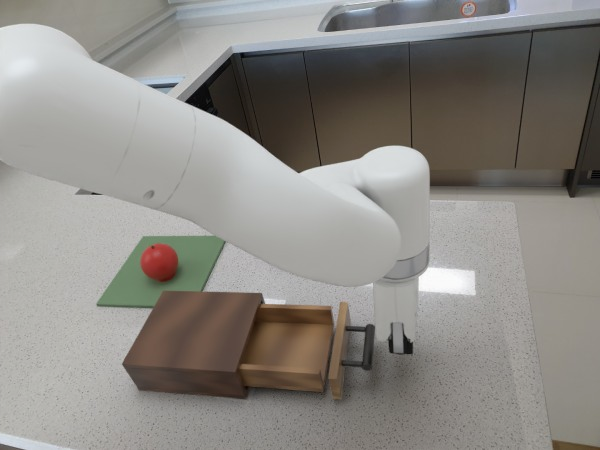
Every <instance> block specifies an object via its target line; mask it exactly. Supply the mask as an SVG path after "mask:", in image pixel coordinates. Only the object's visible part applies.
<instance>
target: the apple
mask: <svg viewBox="0 0 600 450" xmlns="http://www.w3.org/2000/svg"><path fill="white" fill-rule="evenodd" d="M140 265H141V269H142V271H143V272H144V274H145V275H146V276H148V277H149V278H151V279H154V280H157V281H159V282H165V281H168V280H170V279H171V278H173V277H174V275H175V273H176V269H177V267H178V256H177V253H176V252H175V250H174V249H173V248H172V247H170V246H169V245H167V244H163V243H157V244H153V245H151V246H149V247H147V248H146V249H145V250H144V252H143V253H142V255H141V259H140Z"/></svg>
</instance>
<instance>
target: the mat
mask: <svg viewBox="0 0 600 450" xmlns="http://www.w3.org/2000/svg"><path fill="white" fill-rule="evenodd" d="M157 243H163V244H167V245H169V246H170V247H172V248H173V249H174V250H175V252H176V253H177V256H178V267H177V269H176V273H175V275H174V277H173V278H171V279H170V280H168V281H165V282H159V281H157V280H154V279H151V278H149V277H148V276H146V275H145V274H144V272H143V271H142V269H141V265H140V259H141V255H142V253H143V252H144V250H145V249H146V248H147V247H149V246H151V245H153V244H157ZM226 243H227V242H226V241H224V240H222V239H220V238H218V237H216V236H215V235H143V236H142V237H141V238H140V240H139V242H137V244H136V246H135V247H134V248H133V250H132V252H131V253H130V255H129V256H128V257H127V259H126V260H125V262H124V263H123V264H122V266H121V267H120V269H119V270H118V272H117V273H116V275H115V276H114V277H113V279H112V280H111V282H110V283H109V284H108V286H107V287H106V289H105V291H104V292H103V293H102V295H101V296H100V298H99V299H98V301H97V302H96V303H95V305H96V306H97V307H113V308H114V307H117V308H144V309H145V308H146V309H153V308H154V306H155V304H156V302H157V301H158V299H159V297H160V295H161V293H162V292H163V291H204V288H205V286H206V284H207V282H208V280H209V277H210V276H211V273H212V272H213V269H214V267H215V265H216V263H217V262H218V259H219V257H220V255H221V252H222V250H223V249H224V247H225V244H226Z"/></svg>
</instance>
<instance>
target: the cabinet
mask: <svg viewBox="0 0 600 450" xmlns="http://www.w3.org/2000/svg"><path fill="white" fill-rule="evenodd" d="M260 304H266V302H265V298H264V295H263V292H241V291H240V292H239V291H204V290H202V291H163V292H162V293H161V295H160V297H159V299H158V301H157V302H156V304H155V306H154V308H151V311H150V312H149V315H148V316H147V318H146V320H145V321H144V324H143V325H142V327H141V329H140V331H139V332H138V334H137V336H136V337H135V339H134V341H133V343H132V344H131V347H130V349H129V350H128V352H127V354H126V356H125V357H124V359H123V361H122V363H121V365H122V367H123V369H124V370H125V371H126V373H127V375H128V376H129V377H130V379H131V381H132V382H133V384H134V385H135V387H136V389H137V390H138V391H145V392H146V391H148V392H160V393H169V394H182V395H183V394H184V395H193V396H205V397H206V396H207V397H216V398H217V397H218V398H229V399H240V400H247V399H248V395H249V394H250V393H249V392H250V389H251V386H244V384H243V381H242V379H241V376H240V374H239V371H238V370H239V367H240V364H241V361H242V358H243V355H244V352H245V349H246V346H247V343H248V340H249V337H250V334H251V331H252V328H253V325H254V322H255V319H256V316H257V313H258V310H259V307H260Z"/></svg>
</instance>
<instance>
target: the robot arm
mask: <svg viewBox="0 0 600 450" xmlns="http://www.w3.org/2000/svg"><path fill="white" fill-rule="evenodd" d="M0 161H1V162H2V163H4V164H5V165H6V166H9V167H12V168H14V169H16V170H18V171H21V172H23V173H26V174H29V175H31V176H35V177H37V178H42V179H45V180H49V181H51V182H56V183H59V184H63V185H67V186H71V187H74V188H78V189H80V190H83V191H87V192H90V193H94V194H98V195H102V196H106V197H109V198H113V199H116V200H119V201H123V202H127V203H129V204H130V203H131V204H134V205H137V206H140V207H144V208H148V209H150V210H155V211H157V212H161V213H164V214H167V215H170V216H174V217H178V218H181V219H183V220H187V221H189V222H191V223H193V224H194V225H196V226H198V227H200V228H201V229H203V230H204V231H206V232H207V233H209V234H210V235H212V236H216V237H218V238H220V239H222V240H224V241H226V242H225V243H228V244H229V245H232V246H234V247H236V248H237V249H240V250H242V251H243V252H245V253H247V254H249V255H251V256H253V257H255V258H256V259H259V260H261V261H262V262H264V263H266V264H268V265H270V266H272V267H274V268H277V269H279V270H281V271H284V272H286V273H289V274H292V275H294V276H296V277H299V278H304V279H306V280H311V281H314V282H317V283H323V284H326V285H330V286H335V287H343V288H357V287H364V286H367V285H371V284H372V296H373V297H372V298H373V313H374V326H375V339H376V340H377V341H378V342H381V343H382V342H383V343H386V342H387V343H388V353H389V354H393V355H399V356H404V355H413V354H414V342H415V340H416V335H417V334H416V333H417V326H418V325H417V323H418V312H419V311H418V309H419V295H420V294H419V292H420V291H419V288H420V287H419V286H420V285H419V284H420V277H421V276H422V275H423V274H425V272H426V271H427V270H428V268H429V266H430V260H431V259H430V239H431V238H430V236H431V235H430V228H431V225H430V224H431V223H430V222H431V221H430V219H431V218H430V217H431V211H430V210H431V209H430V208H431V206H430V205H431V204H430V203H431V194H430V193H431V187H430V186H431V175H430V174H431V173H430V172H431V171H430V165H429V161H428V160H427V158H426V157H425V156H424V154H422V153H421V152H420V151H418V150H417V149H415V148H412V147H409V146H404V145H386V146H381V147H377V148H375V149H372V150H370V151H368V152H367V153H365V154H363V156H362V157H359V158H356V159H352V160H347V161H343V162H337V163H331V164H326V165H321V166H317V167H312V168H309V169H305V170H302V171H301V172H299V173H298V172H297V171H296V170H295V169H293V168H292V167H290V166H289V165H287V164H285V163H284V162H283V161H281V160H280V159H279V158H277V157H276V156H275V155H273V154H272V153H271V152H269V150H267V149H266V148H265V147H264V146H262V145H261V144H260V143H258V142H257V141H256V140H255V139H254V138H252V137H251V136H250V135H248V134H247V133H245V132H243V131H242V130H241V129H239V128H237V127H236V126H235V125H233V124H231V123H229V121H226V120H224V119H223V118H221V117H219V116H216V115H214V114H211V113H210V112H207V111H205V110H203V109H201V108H199V107H196V106H194V105H191V104H189V103H187V102H184V101H182V100H180V99H178V98H175V97H173V96H171V95H169V94H166V93H165V92H163V91H160V90H158V89H156V88H153V87H151V86H150V85H147V84H145V83H142V82H140V81H138V80H136V79H135V78H132V77H131V76H128V75H127V74H124V73H121V72H119V71H117V70H115V69H113V68H110V67H109V66H106V65H105V64H102V63H100V62H97V61H95V60H93V58H92V56H91V55H90V53H89V52H88V50H86V48H84V46H82V44H80V43H79V42H78V41H77V40H76V39H75V38H73V37H72V36H70V35H69V34H67V33H65V32H64V31H62V30H60V29H57V28H55V27H51V26H49V25H43V24H38V23H18V24H17V23H16V24H9V25H5V26H1V27H0Z"/></svg>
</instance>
